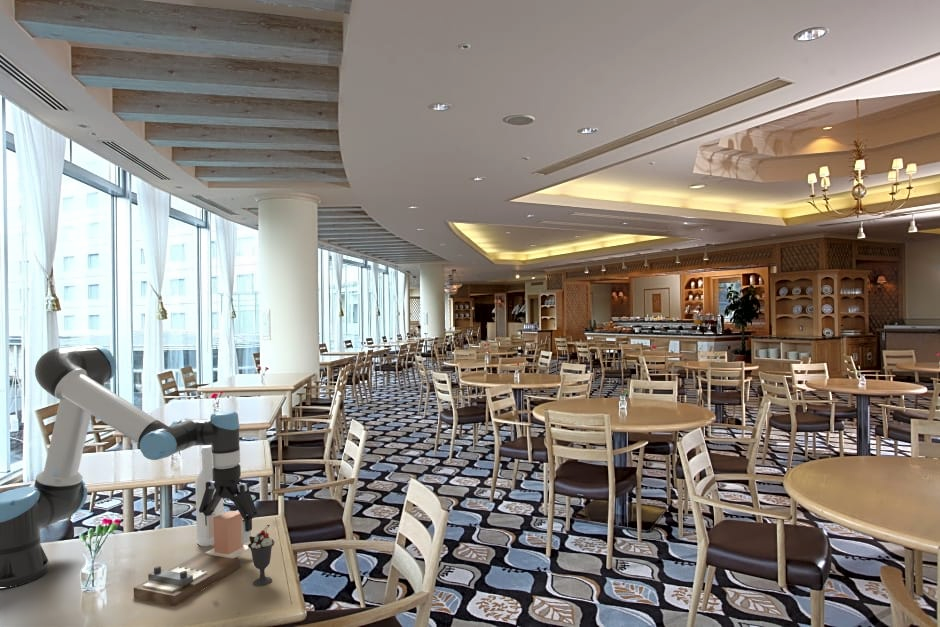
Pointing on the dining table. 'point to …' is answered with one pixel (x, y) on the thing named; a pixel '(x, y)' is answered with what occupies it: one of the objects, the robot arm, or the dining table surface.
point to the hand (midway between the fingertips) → (228, 539)
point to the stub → (228, 535)
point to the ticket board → (195, 586)
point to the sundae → (261, 555)
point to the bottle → (200, 486)
